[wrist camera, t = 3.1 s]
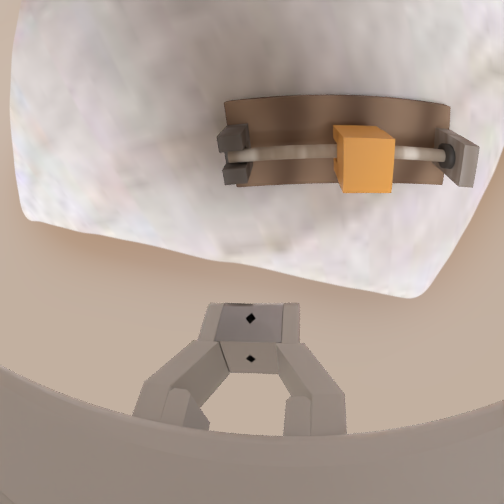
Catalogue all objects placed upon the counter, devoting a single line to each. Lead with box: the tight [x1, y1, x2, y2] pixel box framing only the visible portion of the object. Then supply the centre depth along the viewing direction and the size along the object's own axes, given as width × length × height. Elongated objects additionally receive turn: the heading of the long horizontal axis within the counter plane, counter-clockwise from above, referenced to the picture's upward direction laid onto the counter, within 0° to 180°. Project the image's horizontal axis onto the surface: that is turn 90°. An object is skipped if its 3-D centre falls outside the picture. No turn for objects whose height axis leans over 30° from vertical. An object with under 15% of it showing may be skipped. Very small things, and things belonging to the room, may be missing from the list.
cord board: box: [217, 95, 479, 188], centre depth 24 cm, size 23×9×8 cm, turn 97°
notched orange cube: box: [333, 125, 395, 193], centre depth 22 cm, size 4×4×5 cm
